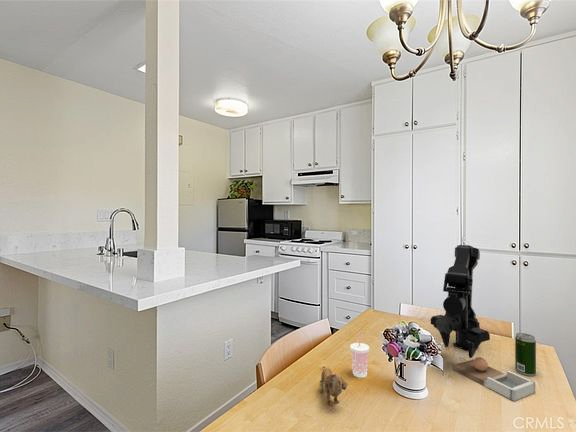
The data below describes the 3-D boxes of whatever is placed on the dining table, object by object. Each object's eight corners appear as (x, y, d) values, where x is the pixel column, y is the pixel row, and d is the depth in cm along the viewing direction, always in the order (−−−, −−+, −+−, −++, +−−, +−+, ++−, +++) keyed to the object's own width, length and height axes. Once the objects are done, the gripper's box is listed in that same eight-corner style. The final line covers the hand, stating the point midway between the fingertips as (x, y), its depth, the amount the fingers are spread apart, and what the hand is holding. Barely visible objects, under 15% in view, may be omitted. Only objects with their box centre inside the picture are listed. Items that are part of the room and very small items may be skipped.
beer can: (532, 378, 97) (532, 340, 97) (512, 371, 101) (512, 335, 101) (538, 373, 100) (538, 336, 100) (519, 366, 104) (519, 331, 104)
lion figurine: (350, 410, 82) (350, 377, 82) (332, 414, 81) (331, 380, 80) (327, 381, 96) (327, 353, 96) (311, 384, 95) (311, 355, 95)
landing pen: (486, 387, 92) (486, 377, 92) (508, 380, 96) (508, 370, 96) (513, 401, 85) (513, 390, 85) (535, 392, 89) (535, 382, 89)
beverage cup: (372, 373, 101) (372, 331, 101) (363, 381, 96) (363, 336, 96) (356, 367, 105) (356, 326, 105) (346, 374, 100) (346, 331, 100)
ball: (469, 366, 101) (472, 355, 100) (477, 364, 102) (480, 353, 101) (480, 374, 97) (483, 363, 96) (488, 372, 99) (492, 361, 98)
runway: (453, 369, 103) (453, 365, 103) (473, 363, 107) (473, 359, 107) (486, 387, 92) (486, 382, 92) (508, 380, 96) (508, 375, 96)
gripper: (419, 303, 112) (419, 345, 112) (467, 319, 94) (467, 369, 95) (441, 299, 116) (441, 340, 116) (490, 314, 99) (491, 362, 99)
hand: (458, 352), depth 106 cm, fingers open, 9 cm apart
